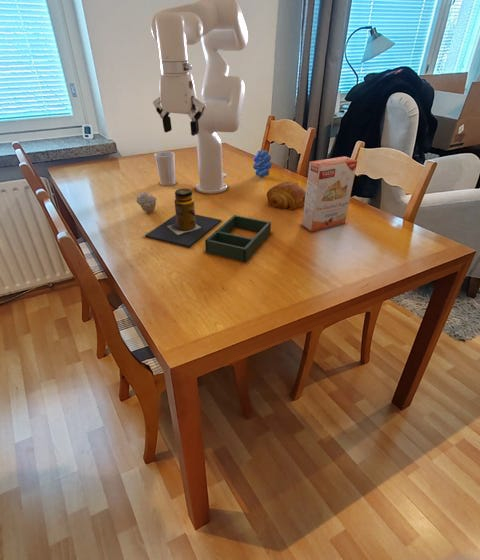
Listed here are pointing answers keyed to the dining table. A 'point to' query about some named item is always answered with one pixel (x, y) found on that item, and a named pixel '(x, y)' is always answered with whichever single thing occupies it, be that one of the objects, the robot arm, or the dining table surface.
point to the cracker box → (328, 192)
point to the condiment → (184, 212)
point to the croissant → (286, 195)
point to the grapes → (262, 163)
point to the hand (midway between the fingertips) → (181, 132)
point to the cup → (166, 167)
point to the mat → (185, 238)
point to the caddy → (237, 238)
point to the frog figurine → (146, 202)
